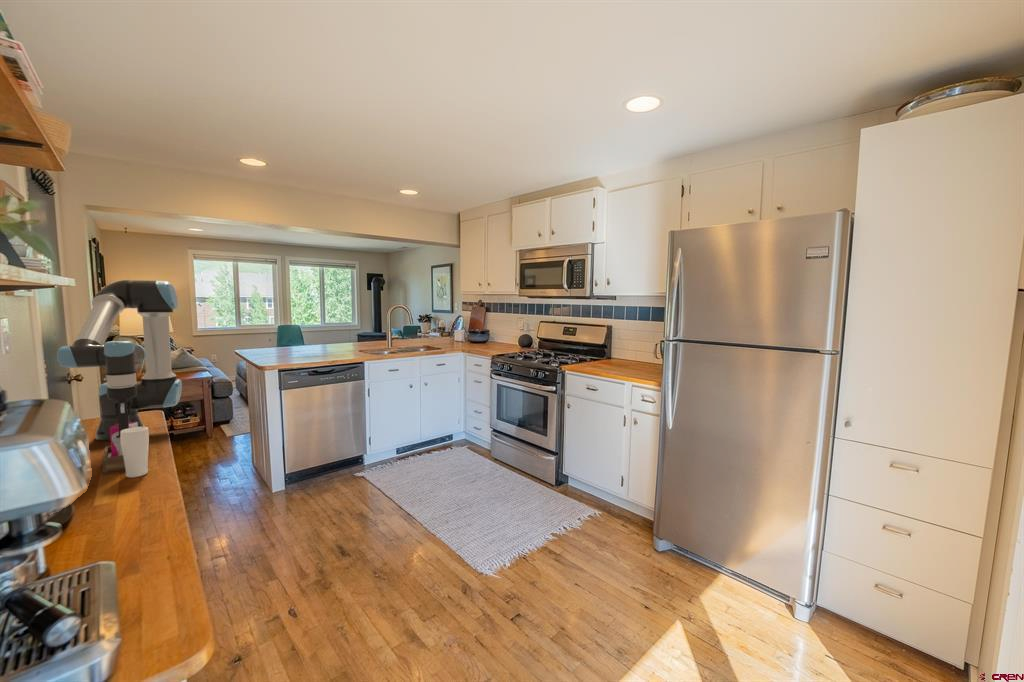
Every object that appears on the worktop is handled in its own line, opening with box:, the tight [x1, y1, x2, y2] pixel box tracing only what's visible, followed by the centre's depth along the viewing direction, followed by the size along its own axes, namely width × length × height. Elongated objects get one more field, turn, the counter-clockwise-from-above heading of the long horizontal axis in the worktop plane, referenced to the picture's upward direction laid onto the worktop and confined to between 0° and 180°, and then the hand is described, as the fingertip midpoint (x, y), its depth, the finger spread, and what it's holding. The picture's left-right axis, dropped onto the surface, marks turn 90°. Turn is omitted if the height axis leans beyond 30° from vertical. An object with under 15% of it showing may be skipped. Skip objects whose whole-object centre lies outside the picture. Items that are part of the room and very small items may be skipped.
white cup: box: [120, 426, 150, 479], centre depth 137 cm, size 7×7×15 cm
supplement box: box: [110, 422, 138, 457], centre depth 147 cm, size 6×6×12 cm
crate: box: [101, 445, 126, 475], centre depth 147 cm, size 16×11×5 cm
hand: (126, 452), depth 147 cm, fingers closed on supplement box, 7 cm apart
